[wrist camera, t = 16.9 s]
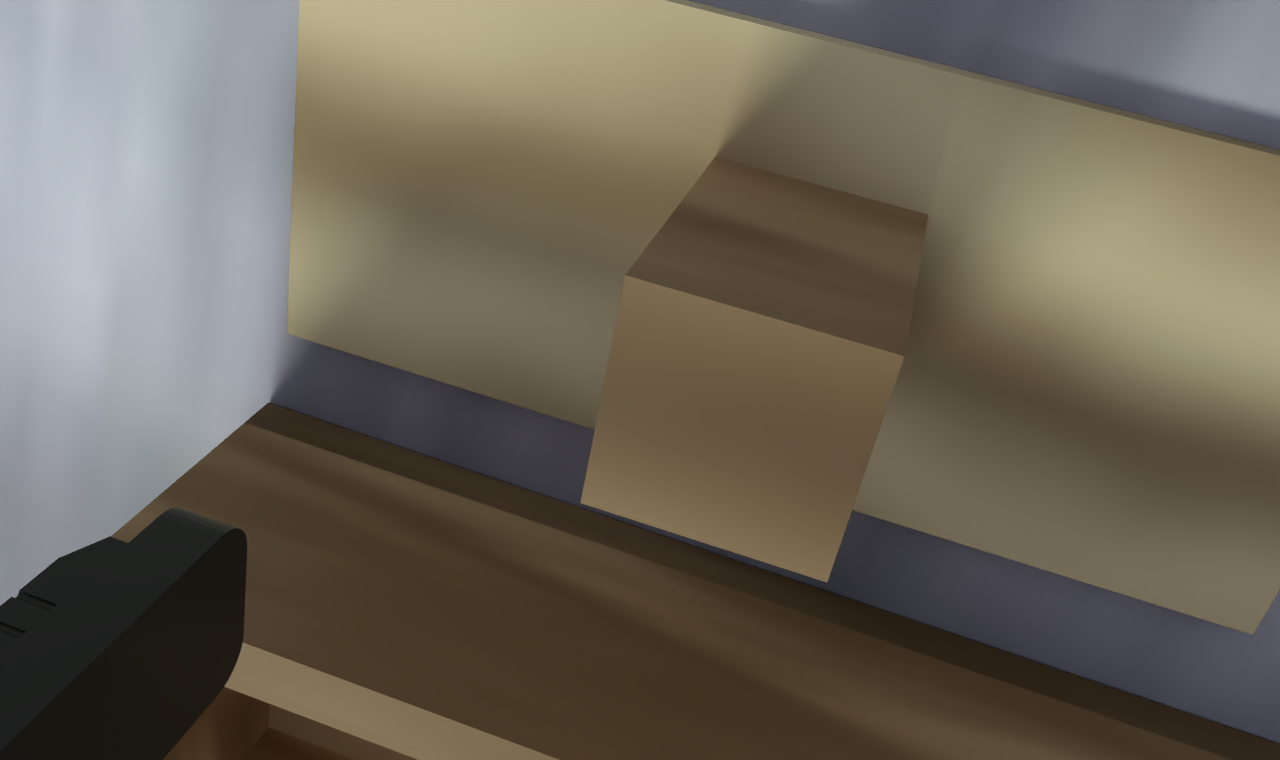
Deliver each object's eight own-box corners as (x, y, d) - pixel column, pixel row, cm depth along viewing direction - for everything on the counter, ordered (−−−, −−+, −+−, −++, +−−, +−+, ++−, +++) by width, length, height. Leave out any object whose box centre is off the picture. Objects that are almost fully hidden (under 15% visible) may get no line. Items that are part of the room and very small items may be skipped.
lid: (1243, 604, 24) (1325, 882, 18) (309, 315, 27) (110, 470, 21) (1481, 194, 19) (1699, 380, 13) (329, -97, 22) (83, -51, 16)
